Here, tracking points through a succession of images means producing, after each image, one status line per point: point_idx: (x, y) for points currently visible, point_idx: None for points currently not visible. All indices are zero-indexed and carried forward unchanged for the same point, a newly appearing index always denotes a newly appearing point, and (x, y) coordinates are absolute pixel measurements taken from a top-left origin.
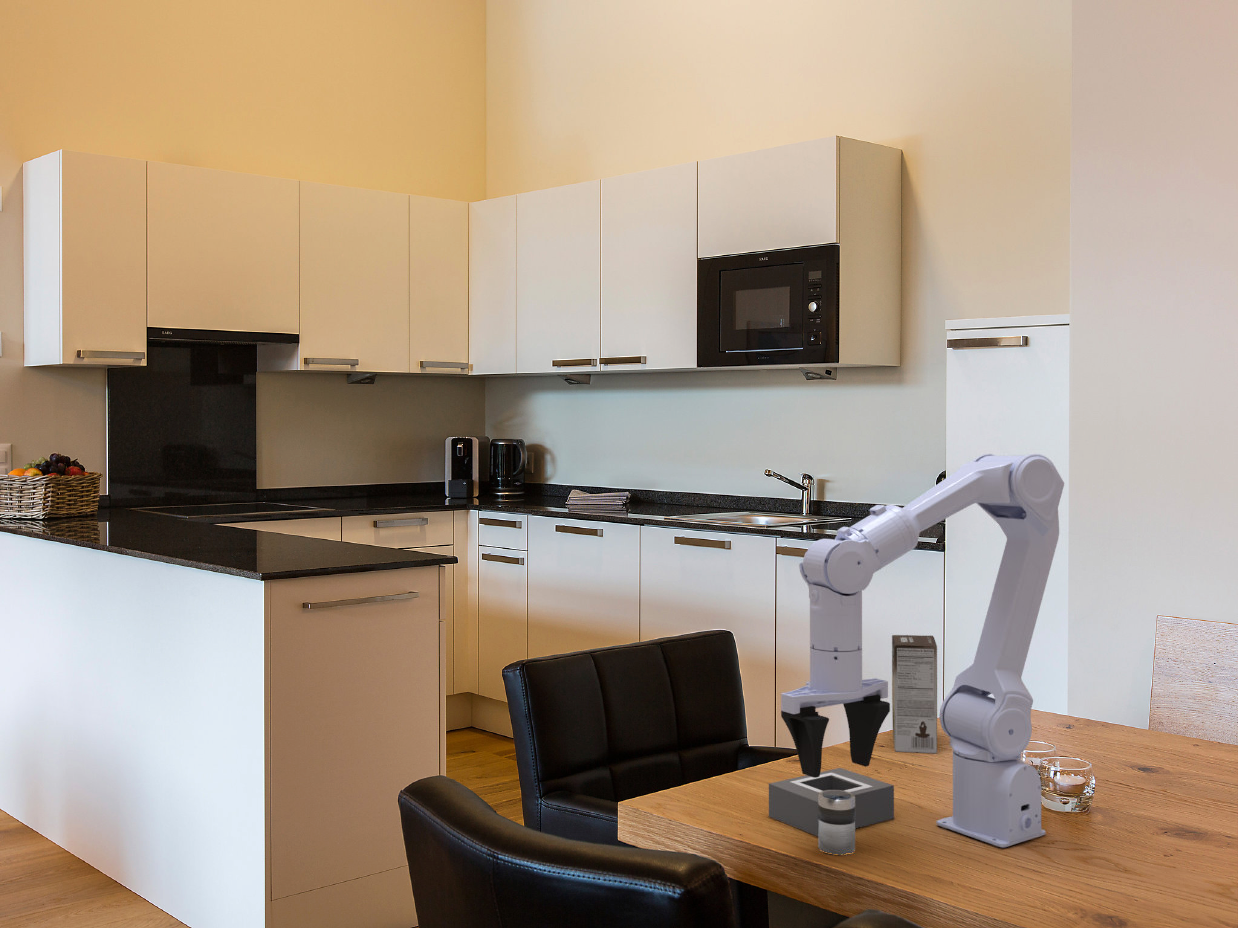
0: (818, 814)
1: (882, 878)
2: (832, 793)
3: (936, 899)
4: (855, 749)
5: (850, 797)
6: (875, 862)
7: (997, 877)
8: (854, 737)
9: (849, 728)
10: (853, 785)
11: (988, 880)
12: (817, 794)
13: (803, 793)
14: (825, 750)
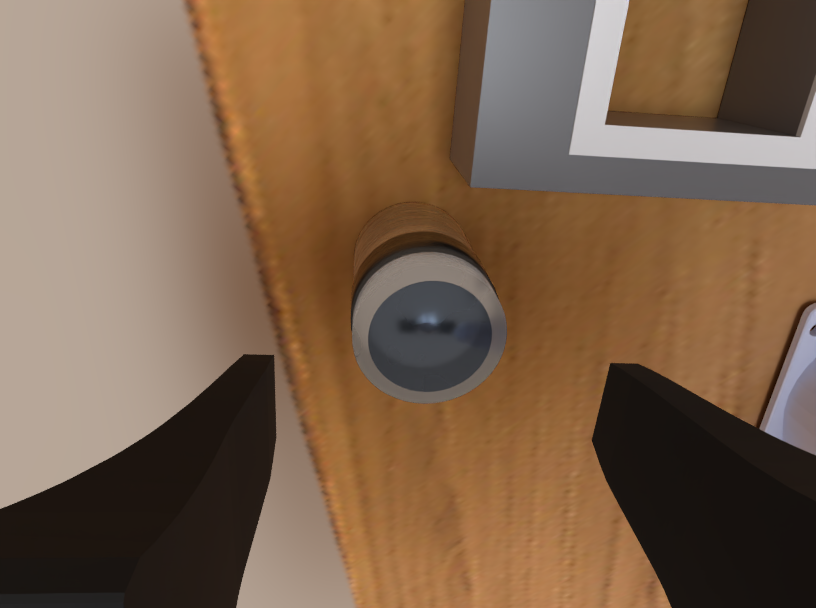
0: (361, 269)
1: (345, 457)
2: (432, 315)
3: (350, 576)
4: (639, 425)
5: (450, 386)
6: None
7: (558, 570)
8: (682, 457)
9: (727, 450)
10: (812, 69)
11: (528, 571)
12: (556, 90)
13: (520, 34)
14: None
